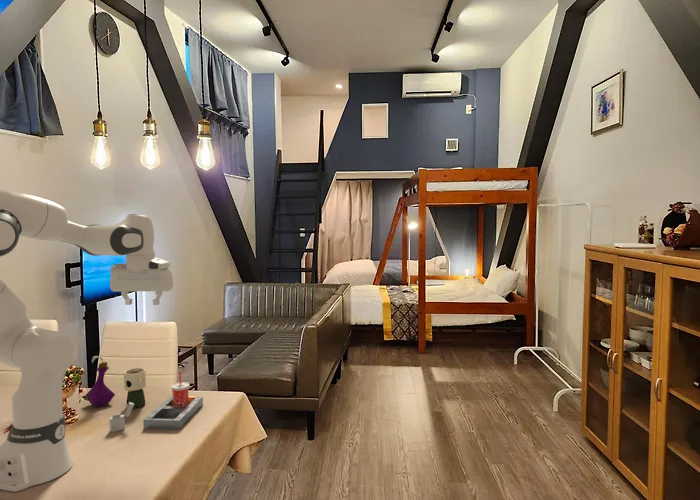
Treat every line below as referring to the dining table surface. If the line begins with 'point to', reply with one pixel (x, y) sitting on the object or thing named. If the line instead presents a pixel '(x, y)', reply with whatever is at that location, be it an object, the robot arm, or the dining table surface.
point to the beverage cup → (180, 392)
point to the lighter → (120, 419)
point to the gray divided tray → (172, 414)
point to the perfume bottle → (100, 387)
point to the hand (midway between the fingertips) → (142, 304)
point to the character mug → (135, 385)
